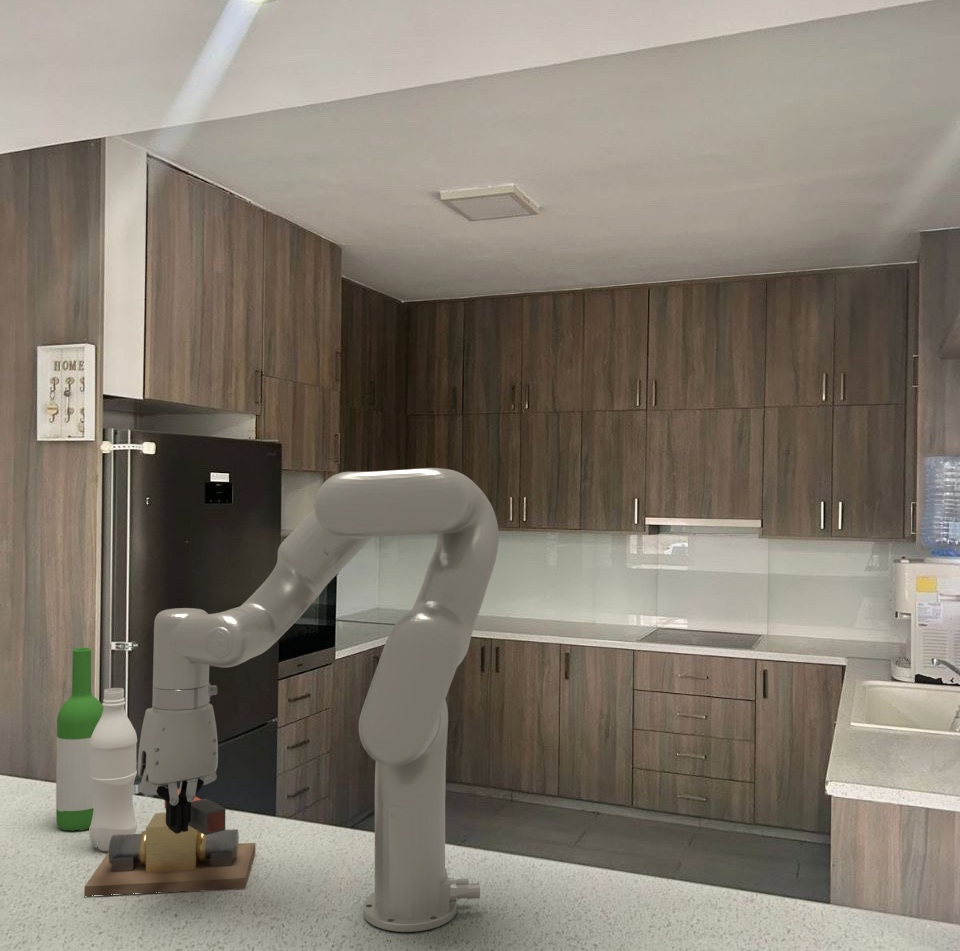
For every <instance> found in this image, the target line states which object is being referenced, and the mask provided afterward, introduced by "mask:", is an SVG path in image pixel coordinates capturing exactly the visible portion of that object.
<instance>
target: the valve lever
mask: <svg viewBox="0 0 960 951" xmlns="http://www.w3.org/2000/svg"><path fill="white" fill-rule="evenodd" d="M179 789H180V788H177V790H178V795H179ZM164 809H165V810H166V801H165V800H164ZM188 826H190V827H192V828H194V829H195V830H197V831H199V832H201V833H202V834H204V835H208V834H212V833H216V832H220V831H224V830H226V808H225V807H224V806H222V805H219V804H218V803H215V802H214V801H211V800H210V799H208V798H203V799H201V798H199V797H197V796H195V799H194V800H193V801H192V802H191V821H190V822H189V823H188Z"/></svg>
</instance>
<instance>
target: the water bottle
mask: <svg viewBox="0 0 960 951" xmlns="http://www.w3.org/2000/svg"><path fill="white" fill-rule="evenodd" d="M124 696H125V690H124V688H122V687H111V688H106V689H104V691H103V700H102V701H103V702H102V703H101V704H102V706H103V713H102V716H101V718H100V720H99V722H98V724H97V725H96V727H95V729H94V731H93V733H92V736H91V740H90V747H91V753H90V779H91V782H92V787H93V794H94V810H93V817H92V821H91V825H90V828H89V829H88V832H89V834H88V835H89V840H90V842H91V844H92V846H93V847H94V848H95V847H98V848H97V849H98V850H99V851H101V850H102V851H101V852H109V845H110V840H111V837H112V836H113V835H125V834H136V832H137V828H138V821H137V818H136V815H135V810H134V802H133V798H134V797H133V795H134V793H133V791H134V790H133V789H134V784H135V780H136V777H137V775H138V769H137V743H138V736H137V732H136V729H135V728H134V726H133V723H132V722H131V720H130V719H129V717H128V715H127V712H126V708H125V705H126V703H127V702H126V701H125V697H124Z"/></svg>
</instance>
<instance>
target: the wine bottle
mask: <svg viewBox="0 0 960 951" xmlns="http://www.w3.org/2000/svg"><path fill="white" fill-rule="evenodd" d="M71 674H72V675H71V676H72V679H71V680H72V681H71V684H72V686H71V695H70V697H69V698H68V699H67V700H66V701H65V702H64V703H63V704H62V705H61V707H60V709H59V711H58V714H57V717H56V718H57V719H56V773H55V774H56V775H55V776H56V788H55V791H56V794H55V795H56V796H55V799H56V800H55V802H56V804H55V806H56V808H55V809H56V810H55V811H56V814H55V816H56V817H55V820H56V825H57V827H58V828H59V829H61V830H64V831H68V830H69V831H70V832H76V831H75V830H79V831H83V830H84V829H86V830H89V829H88V828H90V825H91V821H92V817H93V810H94V794H93V787H92V782H91V779H90V753H91V747H90V740H91V736H92V733H93V731H94V729H95V727H96V725H97V724H98V722H99V720H100V718H101V716H102V713H103V708H104V706H102V703H101V701H100V700H99V699H98V698H96V697H95V696H94V695H93V694H92V650H91V648H90V647H77V648H74V649H72V673H71ZM69 831H68V832H69Z"/></svg>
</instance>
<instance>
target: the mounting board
mask: <svg viewBox="0 0 960 951" xmlns="http://www.w3.org/2000/svg"><path fill="white" fill-rule="evenodd" d="M255 856H256V842H250V843H249V842H247V843H246V842H244V843H238V854H237V858H234V860H233V863H232V866H223V867H211V859H208V861H207V862H199V864H198V866H197V868H196V870H195V871H175V872H156V873H146V865H140V863H138V864H137V866H136V867H135V869H134V871H125V872H112V864H110V862H109V851H107V854H106V855H105V856H104V858H103V860H101V862H100V864H99V865H98V866H97V867H96V869H95V871H94V872H93V874H92V875H91V877H89V880H88V881H87V882H86V884H85V885H84V898H86V897H85V896H92V895H93V896H94V895H111V894H112V895H113V894H133V893H134V894H135V893H154V894H159V893H158V892H173V893H181V892H180V891H191V892H202V891H201V890H210V891H225V890H245V889H246V887H247V883H248V879H249V876H250V872H251V869H252V866H251V865H253V862H254V859H255ZM253 858H254V859H253ZM244 888H245V889H244ZM177 891H179V892H177ZM156 892H157V893H156Z"/></svg>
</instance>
